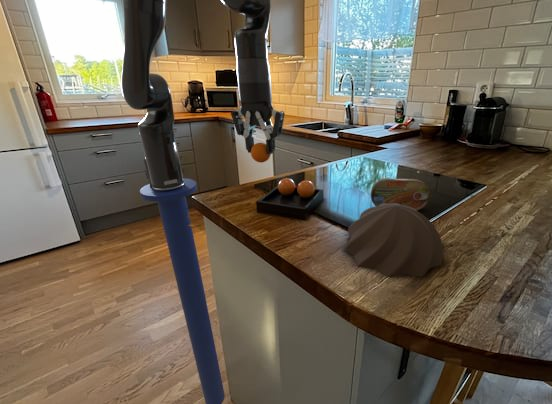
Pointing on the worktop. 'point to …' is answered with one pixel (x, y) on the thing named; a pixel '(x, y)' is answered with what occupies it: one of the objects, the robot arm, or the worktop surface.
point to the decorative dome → (395, 241)
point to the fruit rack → (291, 200)
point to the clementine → (260, 152)
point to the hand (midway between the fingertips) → (260, 152)
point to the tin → (400, 192)
